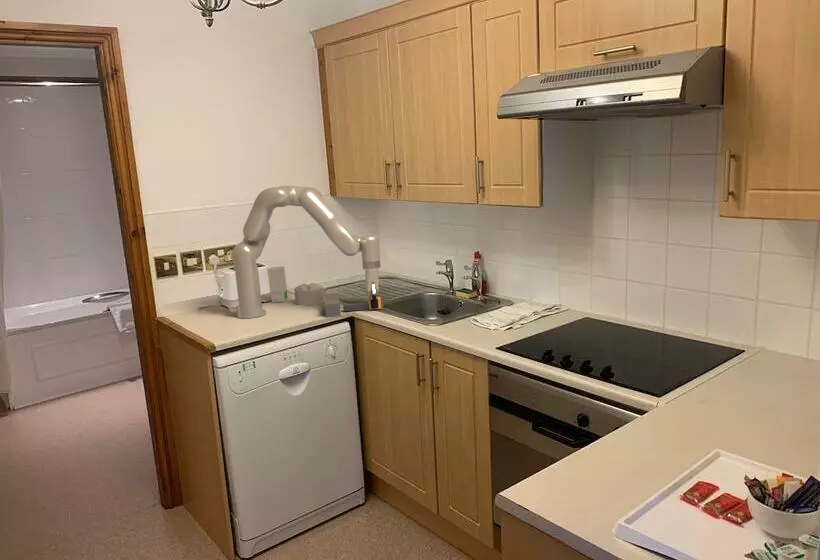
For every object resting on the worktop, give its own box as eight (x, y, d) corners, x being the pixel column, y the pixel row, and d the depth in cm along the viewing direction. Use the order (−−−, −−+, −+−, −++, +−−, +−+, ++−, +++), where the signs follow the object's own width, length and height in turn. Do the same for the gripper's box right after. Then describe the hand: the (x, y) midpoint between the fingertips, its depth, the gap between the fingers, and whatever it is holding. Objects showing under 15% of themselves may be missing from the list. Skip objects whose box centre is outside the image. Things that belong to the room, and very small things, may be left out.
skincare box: (284, 302, 299) (281, 269, 296) (270, 303, 299) (267, 270, 296) (288, 298, 308) (285, 265, 304) (274, 298, 308) (271, 266, 305)
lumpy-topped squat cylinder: (314, 306, 288) (313, 287, 286) (290, 305, 293) (288, 286, 292) (327, 301, 297) (325, 282, 295) (303, 299, 303) (301, 281, 301)
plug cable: (343, 311, 273) (342, 302, 272) (343, 309, 277) (342, 299, 276) (381, 308, 275) (380, 298, 274) (380, 306, 279) (379, 296, 278)
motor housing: (326, 317, 268) (324, 301, 266) (326, 309, 281) (325, 294, 280) (340, 316, 268) (339, 300, 267) (340, 308, 282) (338, 293, 281)
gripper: (361, 262, 281) (364, 303, 284) (363, 269, 264) (366, 312, 268) (378, 260, 281) (381, 301, 285) (381, 267, 265) (384, 310, 269)
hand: (374, 306), depth 277 cm, fingers closed on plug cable, 4 cm apart
